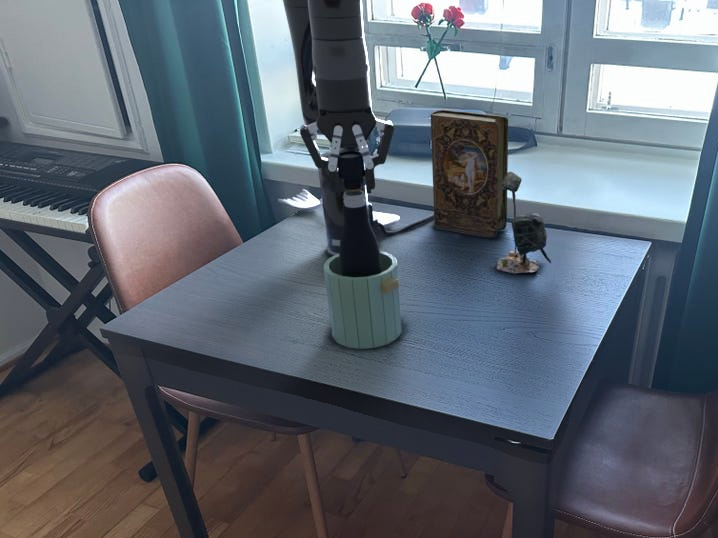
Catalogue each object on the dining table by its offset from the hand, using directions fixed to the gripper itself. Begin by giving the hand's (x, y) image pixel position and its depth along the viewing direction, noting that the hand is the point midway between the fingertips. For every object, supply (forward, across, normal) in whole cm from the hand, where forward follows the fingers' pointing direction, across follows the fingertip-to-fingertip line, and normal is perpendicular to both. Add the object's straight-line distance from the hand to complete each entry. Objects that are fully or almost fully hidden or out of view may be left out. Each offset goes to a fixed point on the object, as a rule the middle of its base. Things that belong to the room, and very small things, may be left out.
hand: (353, 192), depth 106 cm
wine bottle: (+24, 0, 0) cm, 24 cm away
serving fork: (+24, +2, -56) cm, 61 cm away
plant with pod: (+24, -32, -19) cm, 45 cm away
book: (+24, -26, -42) cm, 55 cm away
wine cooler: (+24, 0, 0) cm, 24 cm away
